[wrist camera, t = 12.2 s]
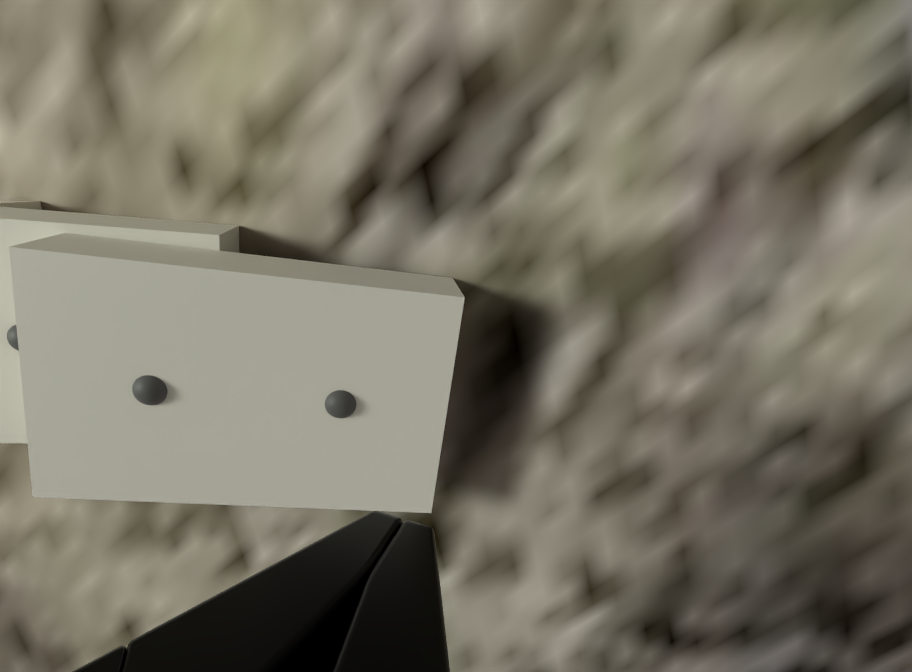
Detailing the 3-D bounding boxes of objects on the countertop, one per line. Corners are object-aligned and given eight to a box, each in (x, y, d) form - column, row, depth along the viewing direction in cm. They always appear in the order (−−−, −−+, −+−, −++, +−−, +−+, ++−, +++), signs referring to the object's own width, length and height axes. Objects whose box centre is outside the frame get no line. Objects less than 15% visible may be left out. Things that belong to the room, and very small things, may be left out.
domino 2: (431, 518, 12) (26, 503, 11) (424, 469, 14) (79, 450, 13) (466, 299, 11) (1, 248, 9) (452, 278, 12) (65, 232, 11)
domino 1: (222, 450, 13) (-179, 444, 12) (241, 413, 15) (-101, 404, 13) (216, 236, 11) (-245, 201, 10) (238, 225, 13) (-147, 194, 12)
